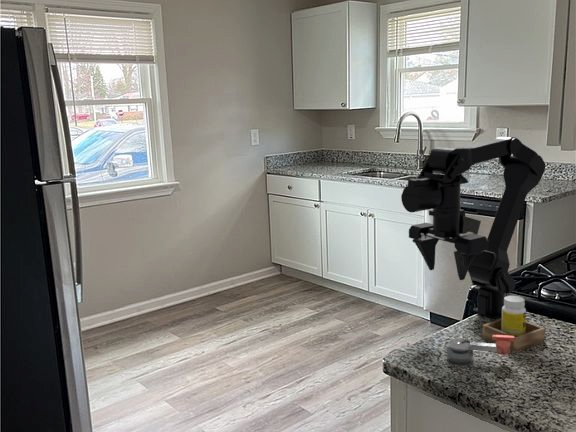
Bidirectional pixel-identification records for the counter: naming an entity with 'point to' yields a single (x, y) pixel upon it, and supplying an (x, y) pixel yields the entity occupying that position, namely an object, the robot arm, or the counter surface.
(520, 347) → the tray
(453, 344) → the crank
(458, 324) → the counter surface
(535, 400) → the counter surface
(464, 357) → the block
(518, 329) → the supplement bottle
